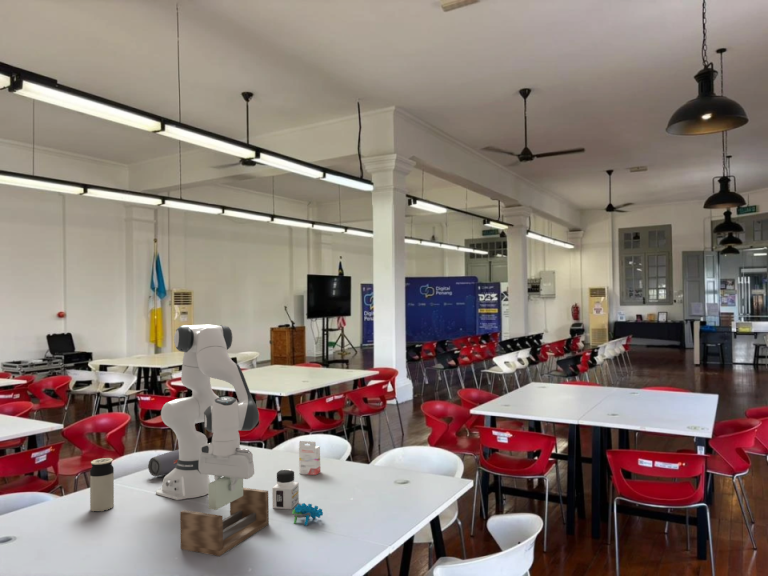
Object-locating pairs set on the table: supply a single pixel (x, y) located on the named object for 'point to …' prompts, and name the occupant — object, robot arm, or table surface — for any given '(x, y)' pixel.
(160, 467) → the bluetooth speaker
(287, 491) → the container
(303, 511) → the gear
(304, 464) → the ink cartridge box
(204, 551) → the cabinet base
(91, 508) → the travel mug
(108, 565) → the table surface
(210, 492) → the door panel
